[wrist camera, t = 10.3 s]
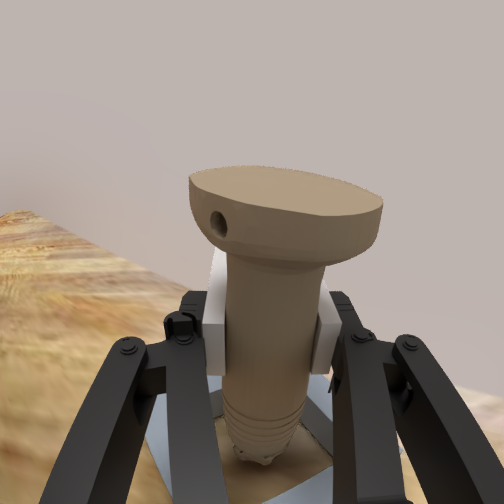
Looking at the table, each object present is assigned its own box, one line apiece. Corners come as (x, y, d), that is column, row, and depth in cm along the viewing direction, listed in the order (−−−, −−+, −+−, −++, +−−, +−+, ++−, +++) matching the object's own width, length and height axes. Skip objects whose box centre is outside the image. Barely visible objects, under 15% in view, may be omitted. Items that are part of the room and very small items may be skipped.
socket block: (138, 417, 19) (128, 391, 17) (283, 367, 24) (287, 340, 23) (214, 568, 9) (209, 564, 8) (385, 471, 15) (403, 450, 14)
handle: (250, 396, 20) (262, 162, 13) (325, 451, 15) (404, 197, 9) (193, 433, 17) (161, 176, 10) (267, 502, 12) (320, 230, 6)
